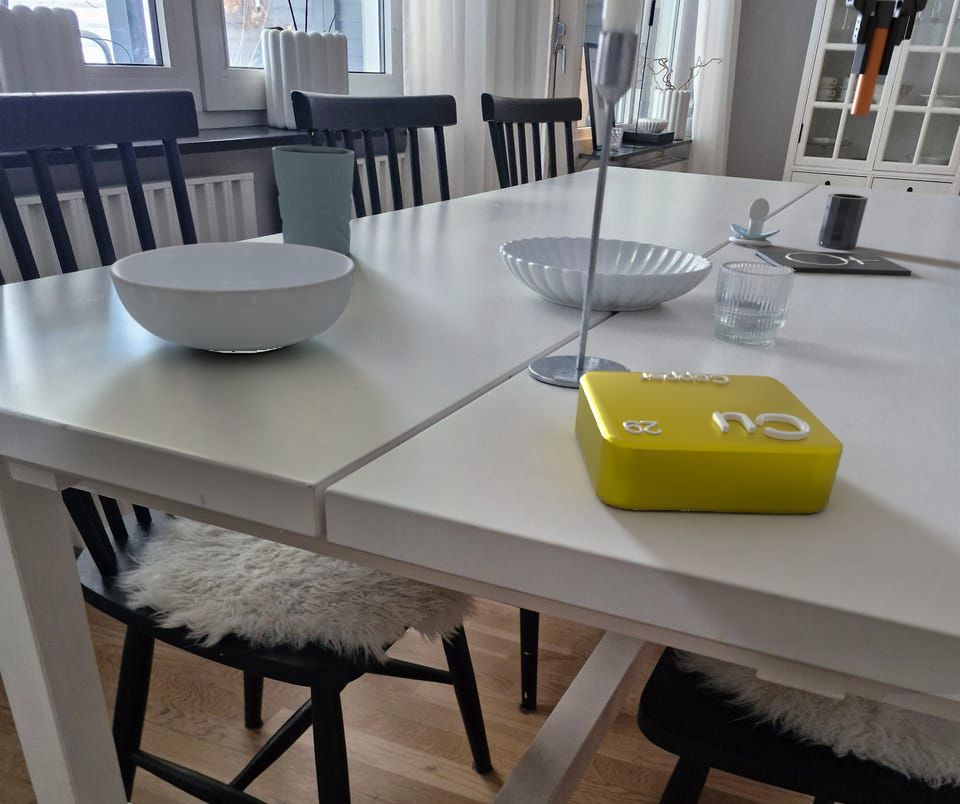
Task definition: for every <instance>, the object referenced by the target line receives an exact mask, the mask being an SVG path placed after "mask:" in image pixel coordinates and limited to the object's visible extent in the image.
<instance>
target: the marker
mask: <svg viewBox="0 0 960 804" xmlns="http://www.w3.org/2000/svg"><path fill="white" fill-rule="evenodd" d="M895 6H896V0H877V2H876V5H875V8H874V11H873V13H872V14H871V16H878V18H877V23H876V27H875V31H874V35H873V39H872V44H871V48H870V52H869V56H868V60H867V65H866V69H865V73H864V74H858V80H857V84H856V88H855V93H854V97H853V101H852V106H851V110H850V115H854V116H855V115H856V116H869V114H870V111H871V107H872V102H873V98H874V93H875V90H876V86H877V81H878V77H879V75H878V73H879V69H880V65H881V61H882V57H883V53H884V48H885V44H886V40H887V36H888V32H889V29H890V27H891V23H892V18H893V17H894V10H895Z"/></svg>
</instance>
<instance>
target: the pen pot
mask: <svg viewBox="0 0 960 804" xmlns="http://www.w3.org/2000/svg"><path fill="white" fill-rule="evenodd" d="M827 196H828V197H827V200H826V205H825V209H824V214H823V218H822V222H821V227H820V231H819V236H818V240H817V245H818V246H820V247H823V248H828V249H834V250H854V249H856V247H857V244H858V240H859V237H860V234H861V233H860V232H861V229H862V225H863V221H864V217H865V213H866V210H867V205H868V203H869V202H868V201H869V197H868V196H865V195H860V194H855V193H854V194H853V193H839V192H838V193H829V194H828V195H827Z"/></svg>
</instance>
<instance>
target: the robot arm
mask: <svg viewBox="0 0 960 804" xmlns="http://www.w3.org/2000/svg"><path fill="white" fill-rule="evenodd" d="M895 1H896V6H895V10H894V14H893V18H892V23H891V27H890V29H889V32H888V36H887V40H886V44H885V48H884V53H883V57H882V61H881V65H880V69H879V73H878V76H888V74H889V70H890V66H891V63H892V57H893V54H894V50H895V47H900V45H901V44H902V42H903V38H904V35H905V30H906V27H907V24H908V23H907V22H908V19H909V18H910V17H912V15H915V14H917V13H919V12H923V11H924V10H925V9H926V6H927V4H928V0H895ZM876 2H877V0H845V7H846V9H850V10H852V11H853V12H854V14H855V15H856V22H855V26H854V30H853V35H852V38H851V40H852V41H851V42H852V44H853V45H856V50H855V53H854V57H853V61H852V66H851V70H850V74H853V75H854V74H855V75H860V74H864V73H865V69H866V65H867V60H868V56H869V52H870V48H871V44H872V39H873V35H874V31H875V27H876V23H877V18H878V16H872V15H873V11H874V8H875V5H876Z"/></svg>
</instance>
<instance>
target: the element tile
mask: <svg viewBox="0 0 960 804" xmlns="http://www.w3.org/2000/svg"><path fill="white" fill-rule="evenodd" d="M577 395H578V396H577V406H576V414H575V415H576V416H575V426H574V432H575V436H576V438H577V442H578V444H579V447H581V448H580V450H582V451H581V452H582V453H583V454H582V456H584V457H583V460H584V459H585V460H584V462H585V465H586V468H587V471H588V475H589V478H590V480H591V483H592V486H593V489H594V492H595V495H596V496H597V497H598V499H599V498H600V499H599V500H600V501H602V502H603V503H604V504H606V505H608V504H609V505H608V506H610V505H612V506H611V507H613V506H614V507H613V508H616V507H620V508H619V509H621V508H624V509H623V510H627V509H637V510H636V511H646V510H680V511H679V512H682V511H681V510H684V511H683V512H689V511H715V512H714V513H733V512H737V513H738V514H739V512H740V514H741V513H742V514H779V515H781V514H783V515H784V514H785V515H809V514H808V513H810V514H814V512H815V513H820V512H821V511H823V510H824V509H826V508H827V506H828V504H829V502H830V497H831V493H832V490H833V487H834V483H835V479H836V476H837V473H838V468H839V466H840V462H841V458H842V454H843V450H844V444H843V442H842V441H841V440H840V439H839V438H838V437H837V436H836V435H835V434H834V433H833V432H832V431H831V430H830V429H829V428H828V427H827V426H826V425H825V424H824V423H823V422H822V421H821V420H820V419H819V418H818V417H817V416H816V415H815V414H814V413H813V412H812V411H811V410H810V409H809V408H808V407H807V406H806V405H805V404H804V403H803V402H802V401H801V400H800V398H798V397H797V396H796V395H795V394H794V393H793V392H792V391H791V390H790V389H789V387H787V386H786V384H784V383H782V382H781V381H779V379H776V378H775V377H772V376H767V375H766V376H765V375H749V374H748V375H745V374H718V373H717V374H715V373H713V374H711V373H691V372H689V371H687V372H685V373H684V372H683V373H681V372H678V373H677V372H675V371H672V372H653V371H651V372H649V371H619V370H618V371H617V370H616V371H614V370H589V371H587V372H586V373H585V374H583V375H582V376H580V379H579V386H578V394H577ZM688 510H689V511H688ZM780 513H781V514H780ZM805 513H807V514H805Z"/></svg>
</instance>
